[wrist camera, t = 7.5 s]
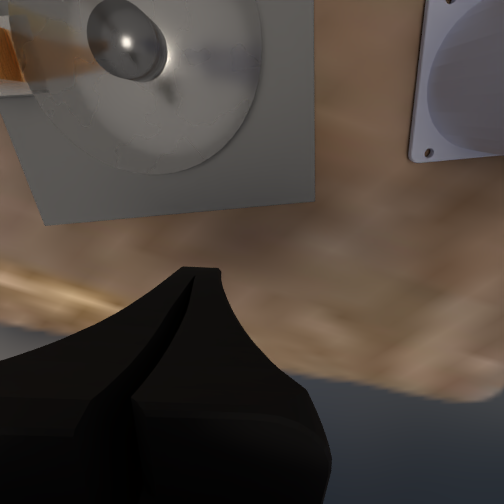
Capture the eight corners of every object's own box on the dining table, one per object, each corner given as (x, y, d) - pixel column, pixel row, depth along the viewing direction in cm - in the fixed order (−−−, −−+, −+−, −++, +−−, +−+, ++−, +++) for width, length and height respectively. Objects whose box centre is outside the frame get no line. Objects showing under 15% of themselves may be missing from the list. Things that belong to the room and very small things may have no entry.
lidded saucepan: (255, -118, 12) (258, -270, 7) (265, 165, 17) (270, 188, 12) (-90, -94, 13) (-308, -226, 8) (12, 179, 17) (-84, 206, 12)
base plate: (306, -200, 12) (322, -289, 10) (311, 196, 19) (321, 210, 16) (-81, -147, 13) (-170, -217, 10) (56, 219, 19) (24, 237, 17)
